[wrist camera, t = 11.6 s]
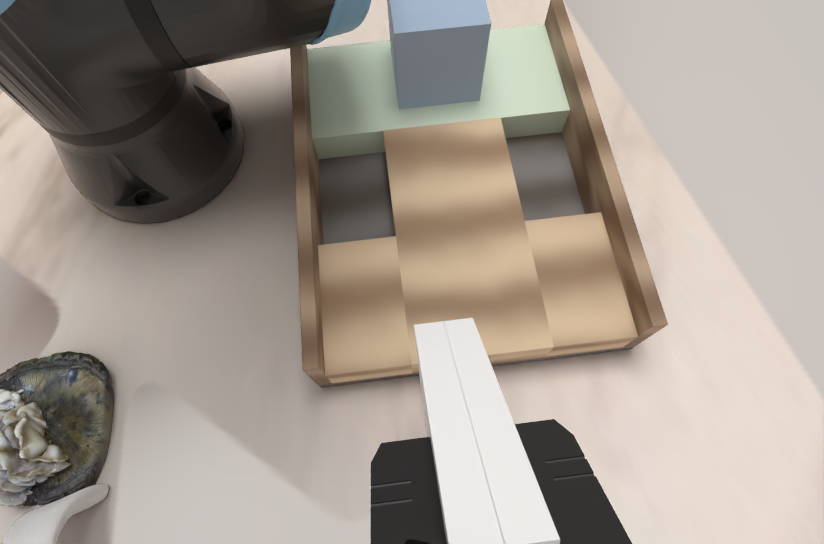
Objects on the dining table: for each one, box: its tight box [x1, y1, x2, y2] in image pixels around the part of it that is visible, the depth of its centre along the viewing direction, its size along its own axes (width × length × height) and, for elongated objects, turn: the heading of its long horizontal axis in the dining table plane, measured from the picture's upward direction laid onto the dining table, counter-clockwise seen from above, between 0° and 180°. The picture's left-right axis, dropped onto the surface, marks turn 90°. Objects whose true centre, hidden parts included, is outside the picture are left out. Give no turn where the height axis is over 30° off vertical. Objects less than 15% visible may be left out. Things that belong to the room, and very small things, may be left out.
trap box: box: [290, 0, 668, 387], centre depth 42 cm, size 30×24×6 cm
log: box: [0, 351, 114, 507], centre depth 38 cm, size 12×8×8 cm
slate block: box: [387, 0, 491, 109], centre depth 42 cm, size 7×7×8 cm
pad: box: [307, 24, 570, 159], centre depth 47 cm, size 10×22×3 cm, turn 97°
